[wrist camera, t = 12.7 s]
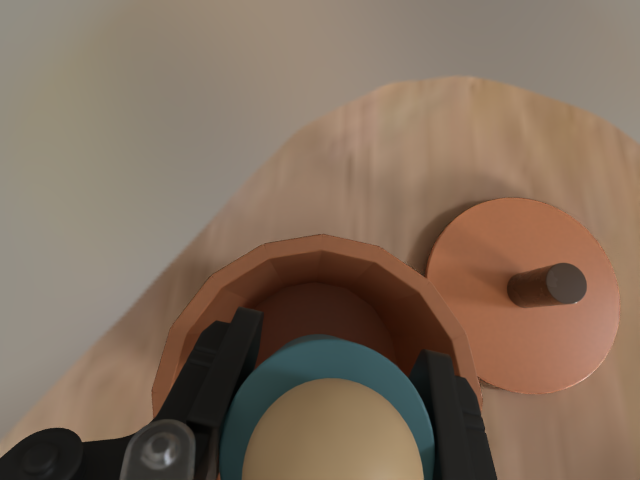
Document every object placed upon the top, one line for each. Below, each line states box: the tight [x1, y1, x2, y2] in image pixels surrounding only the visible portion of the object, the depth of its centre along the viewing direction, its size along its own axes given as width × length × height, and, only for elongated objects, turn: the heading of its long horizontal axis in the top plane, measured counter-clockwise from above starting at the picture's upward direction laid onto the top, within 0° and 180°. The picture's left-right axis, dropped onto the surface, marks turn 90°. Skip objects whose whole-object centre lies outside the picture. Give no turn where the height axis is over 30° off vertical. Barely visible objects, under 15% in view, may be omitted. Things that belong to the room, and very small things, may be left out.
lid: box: [425, 198, 620, 394], centre depth 25 cm, size 14×14×6 cm
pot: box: [152, 234, 483, 480], centre depth 21 cm, size 12×12×12 cm
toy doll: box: [219, 334, 435, 480], centre depth 10 cm, size 5×5×10 cm
